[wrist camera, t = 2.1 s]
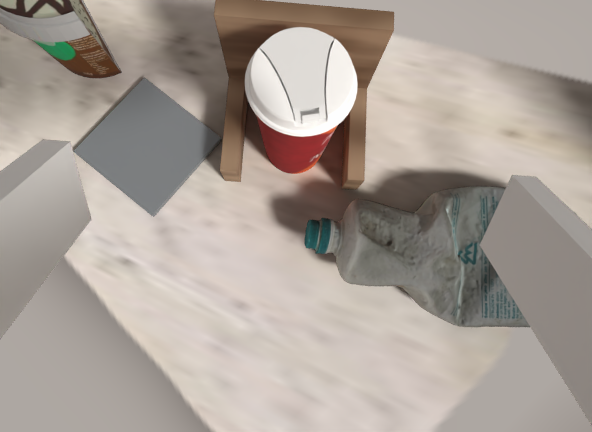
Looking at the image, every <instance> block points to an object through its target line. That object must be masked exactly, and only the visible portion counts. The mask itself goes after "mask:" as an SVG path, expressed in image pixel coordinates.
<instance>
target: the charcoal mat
mask: <svg viewBox="0 0 592 432" xmlns="http://www.w3.org/2000/svg"><path fill="white" fill-rule="evenodd" d="M221 140H222V139H221V137H219V136H218V135H217V134H216V133H214V132H213V131H212V130H211V129H209V128H208V127H207V126H205V125H204V124H203V123H202V122H200V121H199V120H198V119H197V118H195V117H194V116H193V115H191V114H190V113H189V112H188V111H186V110H185V109H184V108H183V107H181V106H180V105H179V104H177V103H176V102H175V101H174V100H172V99H171V98H170V97H169V96H167V95H166V94H165V93H163V92H162V91H161V90H160V89H158V88H157V87H156V86H155V85H153V84H152V83H151V82H149V81H148V80H147V79H146V78H143V79H142V80H141V81H140V82H139V84H138V85H137V86H136V87H135V88H134V89H133V90H132V91H131V92H130V93H129V94H128V95H127V96H126V97H125V98H124V99H123V100H122V101H121V102H120V103H119V104H118V105H117V106H116V107H115V108H114V109H113V110H112V111H111V113H110V114H109V115H108V116H107V117H106V118H105V119H104V120H103V121H102V122H101V123H100V124H99V125H98V126H97V127H96V128H95V129H94V130H93V131H92V132H91V133H90V134H89V135H88V136H87V137H86V138H85V139H84V140H83V142H82V143H81V144H80V145H79V146H78V147H77V148H76V149H75V150H74V151H73V152H75V153H76V154H77V155H78V156H79V157H81V158H82V159H83V160H84V161H86V162H87V163H88V164H89V165H91V166H92V167H93V168H94V169H95V170H97V171H98V172H99V173H100V174H102V175H103V176H104V177H105V178H106V179H108V180H109V181H110V182H111V183H113V184H114V185H115V186H116V187H117V188H119V189H120V190H121V191H122V192H124V193H125V194H126V195H127V196H128V197H130V198H131V199H132V200H133V201H135V202H136V203H137V204H138V205H140V206H141V207H142V208H143V209H144V210H146V211H147V212H148V213H149V214H151V215H152V216H155V215H156V214H157V213H158V211H159V210H160V209H161V208H162V207H163V206H164V205H165V204H166V202H167V201H168V200H169V199H170V198H171V197H172V196H173V195H174V193H175V192H176V191H177V190H178V189H179V188H180V187H181V186H182V184H183V183H184V182H185V181H186V180H187V179H188V178H189V176H190V175H191V174H192V173H193V172H194V171H195V170H196V169H197V167H198V166H199V165H200V164H201V163H202V162H203V161H204V160H205V158H206V157H207V156H208V155H209V154H210V153H211V152H212V151H213V149H214V148H215V147H216V146H217V145H218V144H219V143H220V141H221Z"/></svg>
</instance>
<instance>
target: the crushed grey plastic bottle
mask: <svg viewBox="0 0 592 432" xmlns="http://www.w3.org/2000/svg"><path fill="white" fill-rule="evenodd" d="M505 189H506V188H502V187H493V186H490V187H489V186H471V187H462V188H453V189H447V190H442V191H439V192H436V193H433V194H432V195H430V196H429V197H428V198H427V199H426V200H425V201H424V203H423V204H422V206H421V207H420V208H419V209H418V210H417V211H416V212H415V213H411V212H406V211H403V210H400V209H395V208H393V207H389V206H386V205H383V204H380V203H376V202H372V201H367V200H362V199H356V200H353V201H352V202H351V203H350V204H349V205H348V207H347V209H346V210H345V213H344V215H343V218H342V220H340V221H339V222H334V221H333V220H332V219H326V218H322V219H321V220H320V221H317V220H309V221H308V224H307V228H306V235H305V246H306V248H312V249H315V251H316V253H321V254H327V253H333V255H334V256H336V263H337V267H338V270H339V273H340V275H341V277H342V278H343V280H344V281H346V282H347V283H350V284H357V285H365V286H399V287H401V288H403V289H404V290H405V291H406V292H407V293H408V294H409V295H410V296H411V297H412V298H413V299H414V300H415V302H416V303H417V304H418V305H419V306H420V307H421V308H423V309H425V310H426V311H428V312H430V313H431V314H433V315H435V316H437V317H439V318H441V319H443V320H445V321H447V322H449V323H451V324H453V325H457V326H463V327H484V326H489V327H495V326H496V327H502V326H503V327H530V325H529V324H528V322H527V321H526V319H525V317H524V316H523V314H522V313H521V311H520V309H519V308H518V306H517V304H516V303H515V301H514V300H513V298H512V296H511V295H510V293H509V292H508V290H507V288H506V287H505V285H504V284H503V282H502V280H501V279H500V277H499V275H498V274H497V272H496V271H495V269H494V267H493V266H492V264H491V263H490V261H489V259H488V258H487V256H486V255H485V253H484V251H483V250H482V248H481V246H480V243H481V241H482V239H483V237H484V235H485V233H486V230H487V228H488V226H489V224H490V222H491V220H492V217H493V215H494V213H495V211H496V209H497V207H498V204H499V202H500V200H501V198H502V196H503V193H504V191H505ZM575 214H576V213H575ZM583 222H584V221H583Z"/></svg>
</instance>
